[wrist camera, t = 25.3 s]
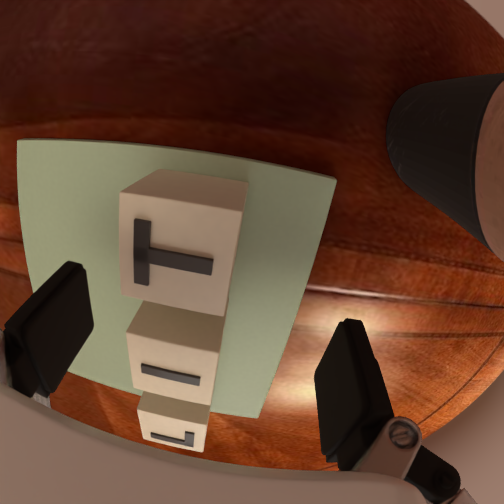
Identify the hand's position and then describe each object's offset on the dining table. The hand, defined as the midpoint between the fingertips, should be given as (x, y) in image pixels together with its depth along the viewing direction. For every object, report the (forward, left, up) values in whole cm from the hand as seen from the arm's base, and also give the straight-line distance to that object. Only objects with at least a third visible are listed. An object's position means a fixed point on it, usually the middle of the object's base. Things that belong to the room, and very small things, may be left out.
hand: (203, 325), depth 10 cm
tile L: (+14, -2, -8) cm, 16 cm away
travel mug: (-9, +11, -9) cm, 16 cm away
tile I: (+6, -2, -8) cm, 10 cm away
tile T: (-1, -2, -8) cm, 8 cm away
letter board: (+6, -5, -8) cm, 12 cm away
